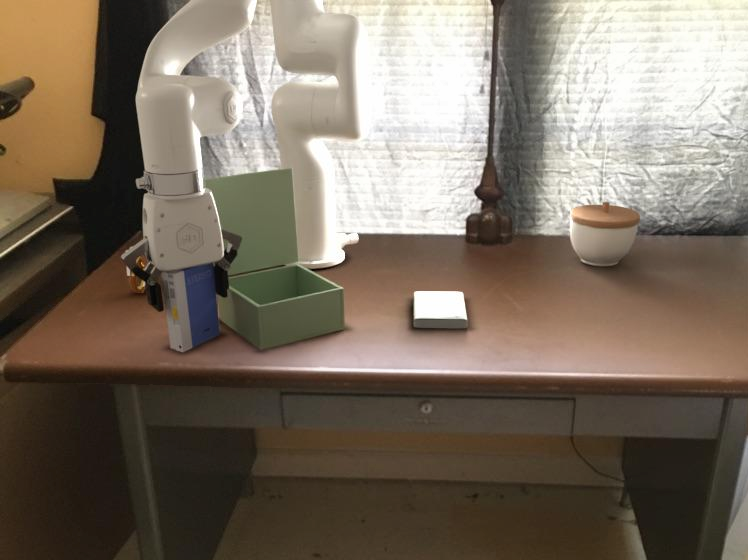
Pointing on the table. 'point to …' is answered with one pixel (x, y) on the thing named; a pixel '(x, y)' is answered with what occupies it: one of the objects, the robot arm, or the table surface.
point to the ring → (132, 277)
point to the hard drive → (439, 310)
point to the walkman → (190, 306)
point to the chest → (282, 306)
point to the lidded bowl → (603, 233)
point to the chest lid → (258, 217)
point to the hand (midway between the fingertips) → (190, 301)
